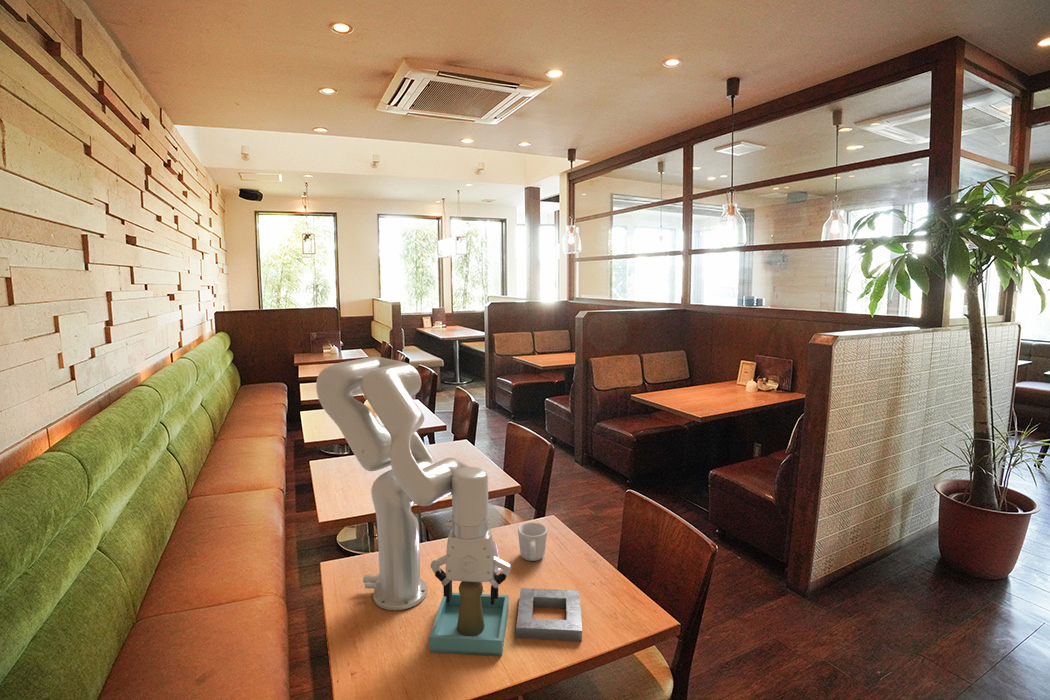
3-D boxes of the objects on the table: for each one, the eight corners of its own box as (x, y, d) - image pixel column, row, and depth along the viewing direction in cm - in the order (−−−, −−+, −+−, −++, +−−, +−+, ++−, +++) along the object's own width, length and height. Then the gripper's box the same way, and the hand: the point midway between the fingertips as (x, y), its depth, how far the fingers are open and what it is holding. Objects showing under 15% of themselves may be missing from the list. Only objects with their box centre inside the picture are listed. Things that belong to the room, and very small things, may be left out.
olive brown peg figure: (479, 639, 113) (479, 592, 111) (452, 633, 114) (452, 587, 112) (488, 620, 119) (488, 575, 117) (462, 615, 120) (462, 571, 118)
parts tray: (429, 652, 110) (429, 637, 109) (444, 605, 125) (444, 592, 124) (501, 656, 109) (501, 640, 108) (508, 608, 124) (508, 595, 123)
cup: (547, 570, 139) (548, 542, 138) (517, 570, 139) (517, 541, 138) (546, 548, 150) (546, 522, 149) (518, 548, 150) (518, 521, 149)
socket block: (516, 637, 114) (516, 627, 114) (520, 597, 128) (520, 587, 128) (581, 641, 114) (582, 630, 113) (579, 600, 127) (579, 590, 127)
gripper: (425, 533, 110) (427, 609, 113) (509, 537, 109) (509, 613, 112) (434, 516, 117) (435, 587, 120) (512, 519, 116) (512, 591, 119)
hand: (471, 599), depth 116 cm, fingers open, 9 cm apart
